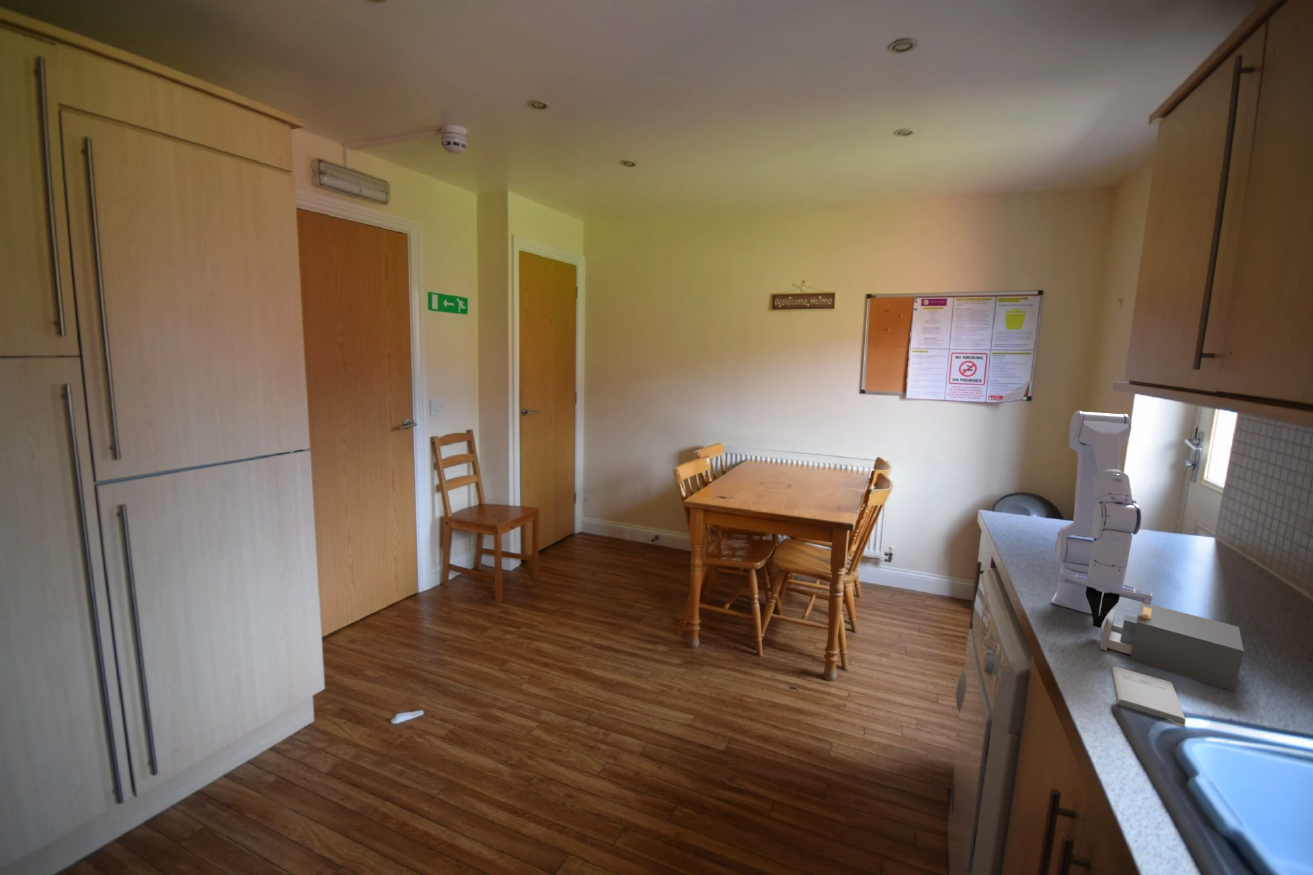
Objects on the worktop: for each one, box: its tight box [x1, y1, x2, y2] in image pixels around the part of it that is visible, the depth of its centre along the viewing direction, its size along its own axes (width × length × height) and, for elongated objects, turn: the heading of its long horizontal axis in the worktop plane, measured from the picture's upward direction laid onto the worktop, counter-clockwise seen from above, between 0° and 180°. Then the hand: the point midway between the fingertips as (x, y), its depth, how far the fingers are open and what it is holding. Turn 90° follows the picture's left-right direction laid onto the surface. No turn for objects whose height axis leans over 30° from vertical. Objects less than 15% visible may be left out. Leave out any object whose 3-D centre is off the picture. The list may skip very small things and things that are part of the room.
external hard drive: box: [1111, 666, 1187, 726], centre depth 95 cm, size 2×8×12 cm
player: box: [1129, 601, 1245, 693], centre depth 106 cm, size 12×14×8 cm
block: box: [1120, 612, 1138, 645], centre depth 110 cm, size 4×4×5 cm
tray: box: [1099, 608, 1132, 656], centre depth 109 cm, size 12×14×4 cm
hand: (1097, 625), depth 115 cm, fingers closed
